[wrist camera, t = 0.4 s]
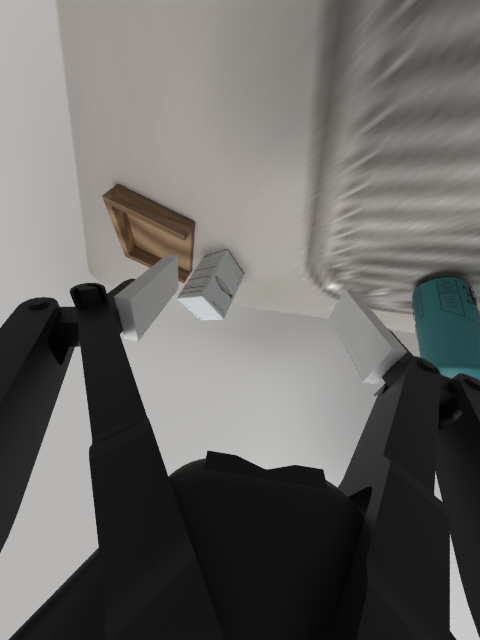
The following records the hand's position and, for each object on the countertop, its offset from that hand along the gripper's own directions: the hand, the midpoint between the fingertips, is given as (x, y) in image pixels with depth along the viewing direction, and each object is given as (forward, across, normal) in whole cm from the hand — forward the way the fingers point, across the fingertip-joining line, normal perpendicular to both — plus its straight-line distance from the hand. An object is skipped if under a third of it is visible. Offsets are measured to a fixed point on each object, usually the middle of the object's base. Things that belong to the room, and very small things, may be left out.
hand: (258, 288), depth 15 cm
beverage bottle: (+16, +29, -1) cm, 33 cm away
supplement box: (+28, -6, -9) cm, 30 cm away
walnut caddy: (+29, -20, -6) cm, 36 cm away
